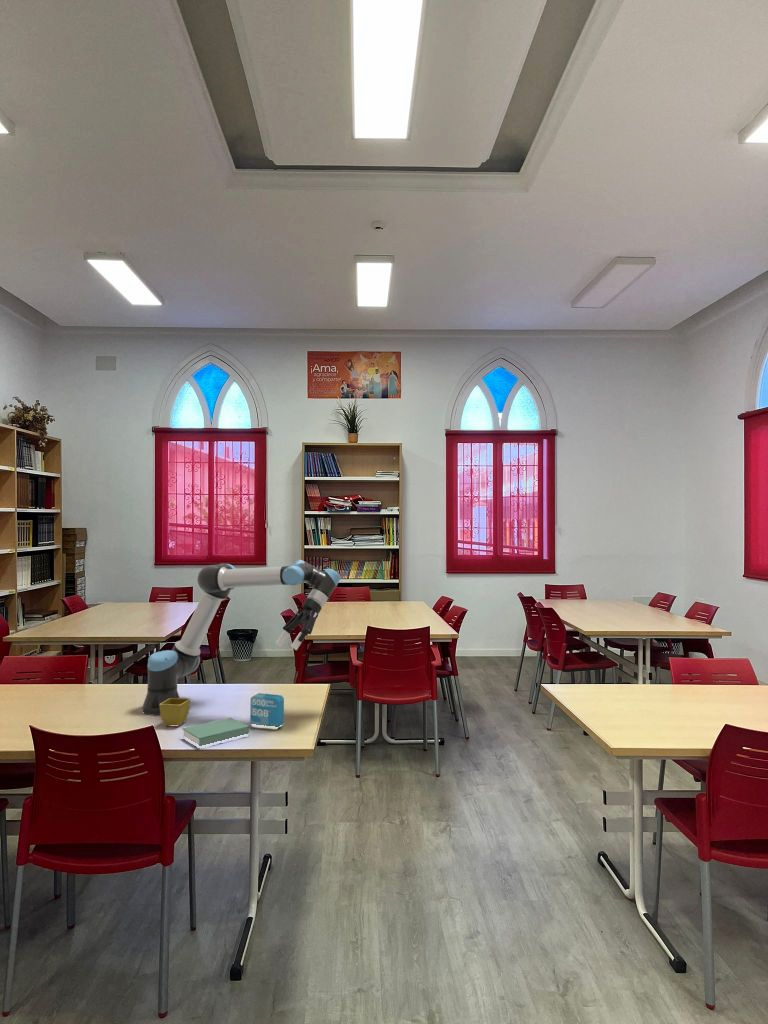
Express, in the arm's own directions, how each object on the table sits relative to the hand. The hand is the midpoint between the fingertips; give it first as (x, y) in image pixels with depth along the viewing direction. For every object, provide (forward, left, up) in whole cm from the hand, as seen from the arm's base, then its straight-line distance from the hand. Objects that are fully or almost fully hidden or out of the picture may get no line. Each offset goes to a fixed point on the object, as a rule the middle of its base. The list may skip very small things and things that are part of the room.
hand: (285, 647), depth 238 cm
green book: (-1, -29, -29) cm, 41 cm away
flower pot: (-25, -34, -29) cm, 51 cm away
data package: (+1, -9, -29) cm, 31 cm away
